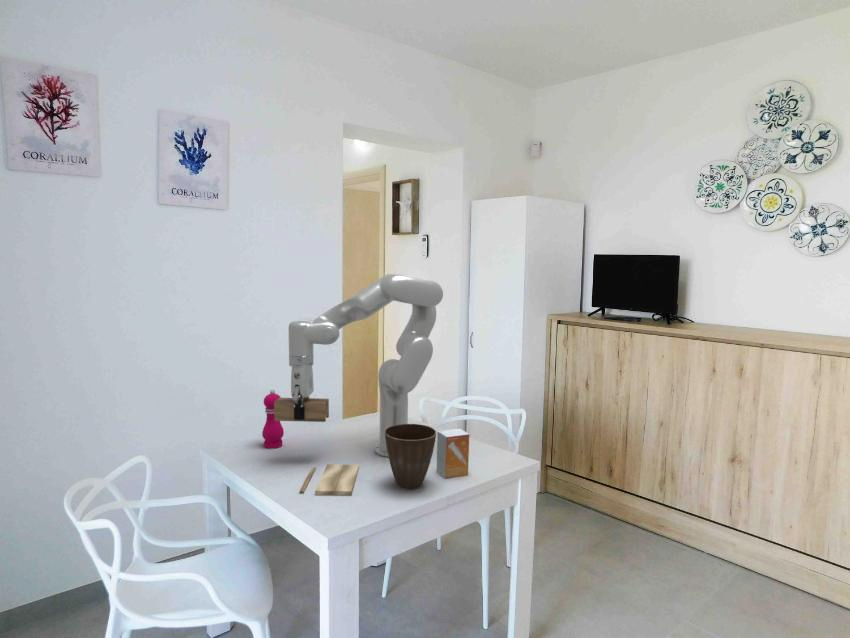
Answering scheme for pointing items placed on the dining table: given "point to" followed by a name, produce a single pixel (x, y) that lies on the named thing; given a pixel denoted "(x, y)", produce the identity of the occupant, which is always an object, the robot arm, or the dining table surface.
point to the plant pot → (410, 453)
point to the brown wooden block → (312, 407)
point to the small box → (452, 453)
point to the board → (334, 480)
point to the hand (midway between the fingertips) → (302, 415)
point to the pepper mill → (272, 423)
